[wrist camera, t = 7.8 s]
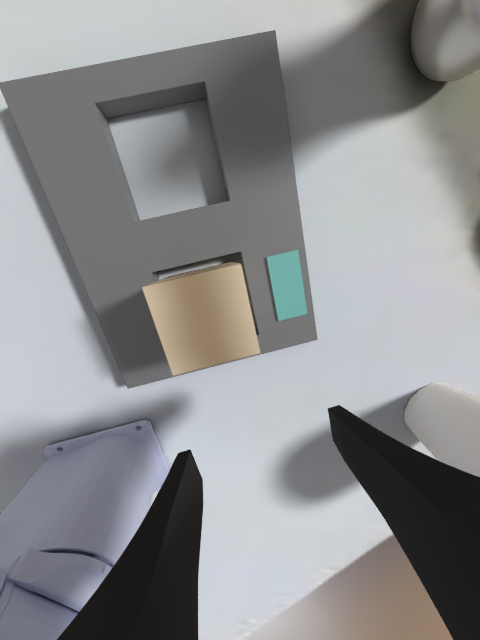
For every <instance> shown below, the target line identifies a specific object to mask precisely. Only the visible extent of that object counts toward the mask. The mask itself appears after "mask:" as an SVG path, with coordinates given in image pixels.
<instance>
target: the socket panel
mask: <svg viewBox="0 0 480 640" xmlns="http://www.w3.org/2000/svg"><path fill="white" fill-rule="evenodd" d="M0 89H1V91H2V94H3V96H4V98H5V101H6V103H7V105H8V108H9V110H10V112H11V115H12V117H13V119H14V122H15V124H16V126H17V129H18V131H19V134H20V136H21V138H22V141H23V143H24V145H25V148H26V150H27V152H28V155H29V157H30V159H31V162H32V164H33V166H34V169H35V171H36V174H37V176H38V178H39V181H40V183H41V185H42V188H43V190H44V192H45V195H46V197H47V199H48V202H49V204H50V207H51V209H52V211H53V214H54V216H55V218H56V221H57V223H58V225H59V228H60V230H61V232H62V235H63V237H64V239H65V242H66V244H67V247H68V249H69V251H70V254H71V256H72V258H73V261H74V263H75V265H76V268H77V270H78V272H79V275H80V277H81V279H82V282H83V284H84V287H85V289H86V291H87V294H88V296H89V298H90V301H91V303H92V305H93V308H94V310H95V312H96V315H97V317H98V320H99V322H100V324H101V327H102V329H103V331H104V334H105V336H106V338H107V341H108V343H109V345H110V348H111V350H112V352H113V355H114V357H115V360H116V362H117V364H118V367H119V369H120V371H121V374H122V376H123V378H124V381H125V383H126V385H127V388H128V389H129V388H132V387H136V386H140V385H144V384H148V383H152V382H156V381H159V380H163V379H167V378H171V377H175V376H179V375H183V374H187V373H190V372H194V371H198V370H202V369H206V368H210V367H214V366H217V365H221V364H225V363H229V362H233V361H237V360H241V359H244V358H248V357H252V356H256V355H260V354H264V353H268V352H272V351H275V350H279V349H283V348H287V347H291V346H295V345H299V344H302V343H306V342H310V341H314V340H317V333H316V326H315V318H314V311H313V304H312V296H311V289H310V282H309V274H308V267H307V260H306V252H305V245H304V238H303V230H302V223H301V216H300V208H299V201H298V194H297V186H296V179H295V172H294V164H293V157H292V150H291V142H290V135H289V128H288V120H287V113H286V106H285V98H284V91H283V84H282V76H281V69H280V62H279V54H278V47H277V40H276V32H275V30H274V31H268V32H263V33H258V34H253V35H247V36H242V37H237V38H232V39H226V40H221V41H216V42H211V43H205V44H200V45H195V46H190V47H184V48H179V49H174V50H169V51H164V52H158V53H153V54H148V55H143V56H137V57H132V58H127V59H122V60H116V61H111V62H106V63H101V64H95V65H90V66H85V67H80V68H74V69H69V70H64V71H59V72H53V73H48V74H43V75H38V76H32V77H27V78H22V79H17V80H11V81H6V82H1V83H0ZM205 98H206V102H207V107H208V111H209V116H210V120H211V125H212V130H213V134H214V139H215V143H216V148H217V153H218V157H219V162H220V166H221V171H222V176H223V180H224V185H225V189H226V194H227V199H228V201H226V202H222V203H217V204H213V205H208V206H204V207H199V208H195V209H191V210H186V211H182V212H177V213H173V214H168V215H164V216H159V217H155V218H150V219H146V220H142V221H140V219H139V216H138V213H137V210H136V207H135V204H134V201H133V198H132V195H131V192H130V189H129V186H128V182H127V179H126V176H125V173H124V170H123V167H122V164H121V161H120V158H119V155H118V152H117V149H116V146H115V143H114V140H113V137H112V133H111V130H110V127H109V124H108V121H107V118H111V117H116V116H121V115H126V114H131V113H136V112H141V111H146V110H151V109H156V108H161V107H166V106H171V105H176V104H180V103H185V102H190V101H195V100H200V99H205ZM237 252H239V254H240V258H241V263H242V268H243V272H244V277H245V281H246V286H247V290H248V295H249V300H250V304H251V309H252V313H253V318H254V323H255V327H256V329H255V330H256V335H257V339H258V344H259V348H260V354H256V355H252V356H248V357H244V358H240V359H236V360H232V361H228V362H225V363H221V364H217V365H213V366H209V367H205V368H201V369H197V370H193V371H190V372H186V373H182V374H178V375H174V376H173V374H172V372H171V369H170V366H169V363H168V360H167V357H166V354H165V352H164V349H163V346H162V343H161V340H160V337H159V335H158V332H157V329H156V326H155V323H154V320H153V317H152V315H151V312H150V309H149V306H148V303H147V300H146V298H145V295H144V292H143V289H142V287H144V286H146V285H149V284H151V283H154V282H156V281H159V277H158V274H157V271H161V270H165V269H169V268H173V267H178V266H182V265H186V264H190V263H194V262H199V261H203V260H207V259H211V258H216V257H220V256H224V255H228V254H233V253H237Z"/></svg>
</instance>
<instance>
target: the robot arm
mask: <svg viewBox="0 0 480 640" xmlns="http://www.w3.org/2000/svg"><path fill="white" fill-rule="evenodd" d="M328 412H329V418H330V425H331V431H332V437H333V441H334V443H335V445H336V446H337V448H338V450H339V452H340V454H341V455H342V457H343V459H344V461H345V462H346V464H347V465H348V467H349V468H350V469H351V471H352V472H353V474H354V475H355V477H356V478H357V480H358V481H359V482H360V484H361V485H362V487H363V488H364V490H365V491H366V492H367V494H368V495H369V497H370V498H371V500H372V501H373V502H374V504H375V505H376V507H377V508H378V510H379V511H380V513H381V514H382V516H383V517H384V519H385V520H386V522H387V524H388V525H389V527H390V529H391V530H392V532H393V534H394V535H395V537H396V538H397V540H398V542H399V543H400V545H401V547H402V549H403V550H404V552H405V554H406V556H407V557H408V559H409V561H410V563H411V564H412V566H413V568H414V570H415V571H416V573H417V575H418V576H419V578H420V580H421V582H422V584H423V585H424V587H425V589H426V591H427V592H428V594H429V596H430V598H431V599H432V601H433V603H434V605H435V607H436V608H437V610H438V612H439V614H440V616H441V617H442V619H443V621H444V623H445V625H446V627H447V628H448V630H449V632H450V634H451V636H452V638H453V640H480V477H478V476H475V475H472V474H470V473H467V472H465V471H462V470H460V469H457V468H455V467H452V466H450V465H447V464H445V463H443V462H440V461H438V460H436V459H433V458H431V457H429V456H427V455H425V454H423V453H421V452H418V451H416V450H414V449H412V448H410V447H408V446H406V445H404V444H403V443H401V442H399V441H397V440H395V439H393V438H392V437H390V436H388V435H386V434H384V433H383V432H381V431H379V430H378V429H376V428H374V427H373V426H371V425H369V424H368V423H366V422H365V421H363V420H362V419H360V418H358V417H357V416H355V415H354V414H352V413H351V412H349V411H348V410H346V409H345V408H343V407H341V406H340V405H338V406H335V407H332V408H328ZM137 426H140V427H141V428H139V427H137ZM61 447H62V448H61ZM43 454H44V456H45V457H46V460H45V461H44V463H43V464H42V465H41V466H40V467H39V469H38V470H37V471H36V472H35V473H34V475H33V476H32V477H31V478H30V479H29V481H28V482H27V483H26V484H25V485H24V487H23V488H22V489H21V490H20V491H19V493H18V494H17V495H16V496H15V497H14V499H13V500H12V501H11V502H10V503H9V505H8V506H7V507H6V508H5V509H4V511H3V512H2V513H1V514H0V640H198V569H199V555H200V541H201V528H202V514H203V482H202V477H201V475H200V472H199V470H198V467H197V465H196V462H195V460H194V457H193V455H192V452H191V450H187V451H184V452H180V453H178V455H177V457H176V459H175V461H174V463H173V465H172V467H171V469H169V466H168V464H167V461H166V459H165V456H164V454H163V452H162V449H161V447H160V444H159V442H158V439H157V437H156V435H155V432H154V430H153V427H152V425H151V423H150V421H148V420H141V421H137V422H134V423H130V424H126V425H122V426H119V427H115V428H111V429H107V430H103V431H100V432H96V433H92V434H88V435H85V436H81V437H77V438H73V439H70V440H66V441H62V442H58V443H55V444H51V445H48V446H46V448H45V449H44V450H43ZM158 490H160V491H159V492H158V494H157V496H156V498H155V500H154V502H153V504H152V506H151V507H150V504H151V500H152V497H153V493H154V492H155V491H158ZM149 508H150V509H149Z"/></svg>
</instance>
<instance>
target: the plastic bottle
mask: <svg viewBox="0 0 480 640" xmlns="http://www.w3.org/2000/svg"><path fill="white" fill-rule="evenodd" d="M411 50H412V54H413V58H414V61H415V63H416V66H417V67H418V69H419V70H420V72H421V73H422V74H423V75H424V76H426V77H427V78H429V79H431V80H434V81H455V80H459V79H461V78H463V77H466V76H467V75H469V74H471V73H473V72H475V71H477V70H479V69H480V0H419V2H418V5H417V8H416V12H415V15H414V19H413V24H412V29H411Z"/></svg>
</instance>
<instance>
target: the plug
mask: <svg viewBox="0 0 480 640" xmlns="http://www.w3.org/2000/svg"><path fill="white" fill-rule="evenodd" d="M142 289H143V292H144V295H145V298H146V300H147V303H148V306H149V309H150V312H151V315H152V317H153V320H154V323H155V326H156V329H157V332H158V335H159V337H160V340H161V343H162V346H163V349H164V352H165V354H166V357H167V360H168V363H169V366H170V369H171V372H172V374H173V376H174V375H178V374H182V373H186V372H190V371H193V370H197V369H201V368H205V367H209V366H213V365H217V364H221V363H225V362H228V361H232V360H236V359H240V358H244V357H248V356H252V355H256V354H260V348H259V344H258V339H257V335H256V330H255V325H254V321H253V316H252V312H251V307H250V302H249V298H248V293H247V289H246V284H245V280H244V275H243V270H242V266H241V264H240V263H235V262H228V263H224V264H219V265H215V266H211V267H207V268H203V269H198V270H194V271H190V272H186V273H181V274H177V275H173V276H169V277H167V278H164V279H161V280H159V281H156V282H154V283H151V284H149V285H146V286H144V287H142Z"/></svg>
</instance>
